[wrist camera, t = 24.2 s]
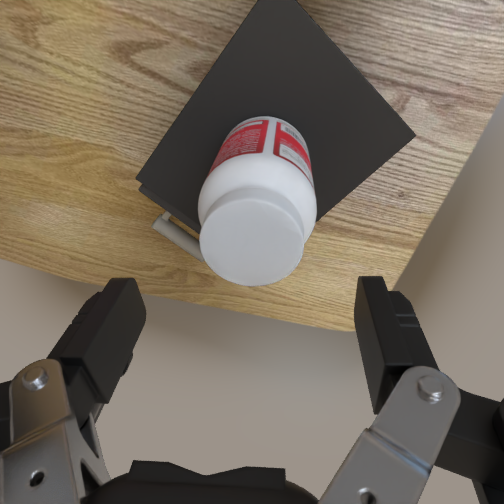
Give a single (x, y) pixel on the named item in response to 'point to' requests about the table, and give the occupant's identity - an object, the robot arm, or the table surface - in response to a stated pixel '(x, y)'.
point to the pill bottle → (257, 203)
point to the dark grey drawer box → (280, 109)
